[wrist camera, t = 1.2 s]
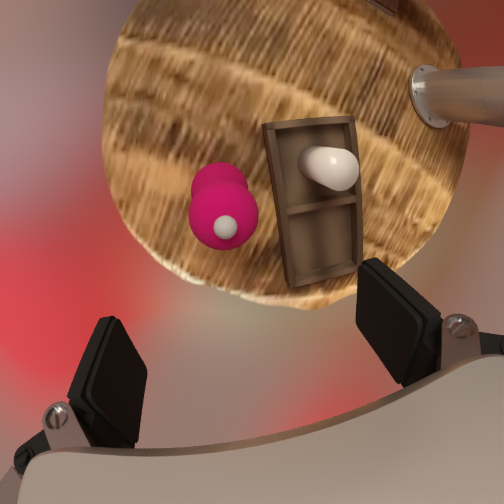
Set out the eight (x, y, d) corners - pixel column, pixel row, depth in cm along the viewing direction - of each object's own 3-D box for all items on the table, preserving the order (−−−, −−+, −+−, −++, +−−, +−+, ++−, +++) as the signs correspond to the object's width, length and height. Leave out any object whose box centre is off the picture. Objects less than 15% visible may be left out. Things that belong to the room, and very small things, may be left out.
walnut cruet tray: (344, 116, 36) (354, 115, 33) (354, 262, 46) (362, 269, 43) (261, 124, 35) (265, 123, 32) (285, 279, 45) (289, 288, 42)
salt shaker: (326, 143, 36) (357, 147, 28) (330, 176, 38) (360, 187, 30) (294, 147, 36) (318, 151, 28) (299, 181, 38) (323, 193, 30)
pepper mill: (221, 219, 40) (232, 292, 21) (182, 188, 37) (156, 238, 19) (254, 182, 38) (295, 224, 20) (215, 149, 35) (220, 159, 17)
